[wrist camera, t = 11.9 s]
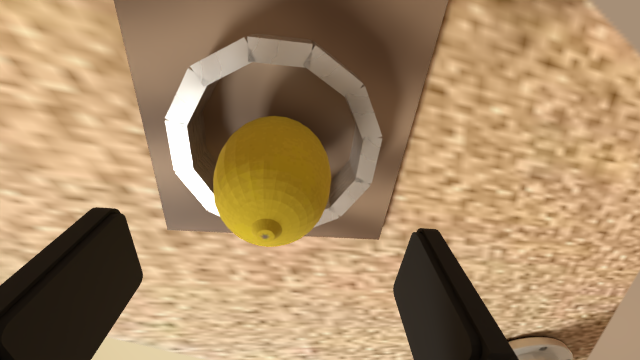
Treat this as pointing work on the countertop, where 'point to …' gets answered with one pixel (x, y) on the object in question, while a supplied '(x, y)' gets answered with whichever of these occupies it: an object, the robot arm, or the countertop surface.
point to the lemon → (272, 181)
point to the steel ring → (260, 48)
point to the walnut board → (283, 85)
